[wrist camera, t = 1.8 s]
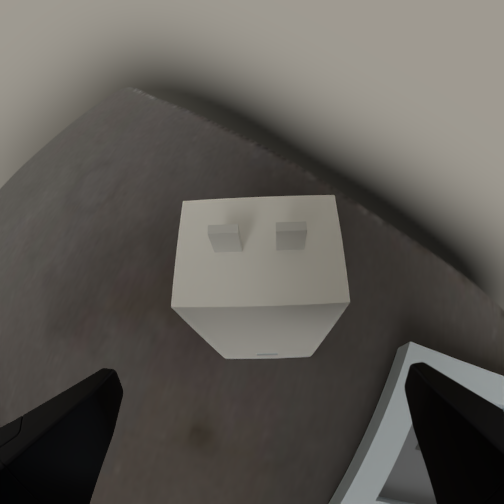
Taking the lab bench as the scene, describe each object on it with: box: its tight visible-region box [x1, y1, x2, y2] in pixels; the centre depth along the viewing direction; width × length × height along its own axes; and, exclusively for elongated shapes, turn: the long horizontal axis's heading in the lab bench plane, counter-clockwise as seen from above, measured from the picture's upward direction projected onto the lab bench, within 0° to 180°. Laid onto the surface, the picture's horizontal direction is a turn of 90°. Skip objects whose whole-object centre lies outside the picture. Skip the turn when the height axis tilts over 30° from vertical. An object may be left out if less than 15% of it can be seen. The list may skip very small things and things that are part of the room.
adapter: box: [171, 195, 350, 359], centre depth 15 cm, size 4×6×13 cm
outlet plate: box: [328, 341, 504, 504], centre depth 14 cm, size 12×12×2 cm
